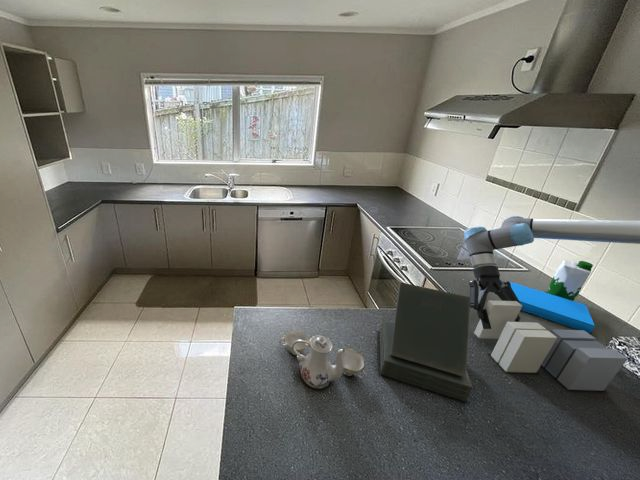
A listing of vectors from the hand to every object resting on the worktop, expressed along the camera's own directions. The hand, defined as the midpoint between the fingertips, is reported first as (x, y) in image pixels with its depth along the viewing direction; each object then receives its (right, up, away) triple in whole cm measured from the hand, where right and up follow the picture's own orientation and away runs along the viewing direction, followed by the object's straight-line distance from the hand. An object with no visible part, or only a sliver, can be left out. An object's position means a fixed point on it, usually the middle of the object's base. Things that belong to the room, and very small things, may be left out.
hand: (502, 329), depth 98 cm
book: (+38, 0, +23) cm, 45 cm away
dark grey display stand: (-33, -9, -5) cm, 35 cm away
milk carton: (+52, +2, +30) cm, 60 cm away
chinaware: (-67, -10, -9) cm, 68 cm away
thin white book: (0, -4, +5) cm, 7 cm away
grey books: (+15, -12, -7) cm, 20 cm away
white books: (0, -10, -4) cm, 11 cm away
